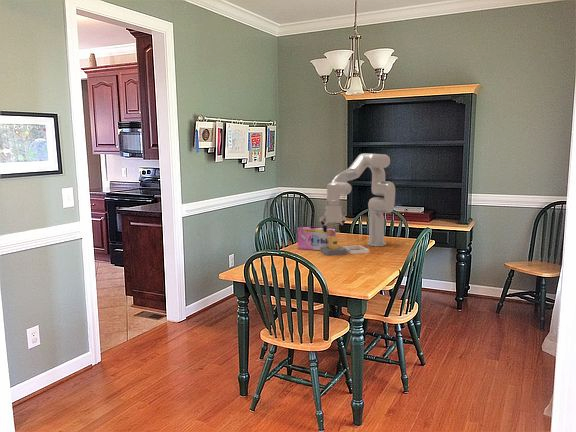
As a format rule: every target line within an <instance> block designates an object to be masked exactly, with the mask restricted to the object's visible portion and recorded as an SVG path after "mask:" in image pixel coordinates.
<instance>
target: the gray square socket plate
mask: <svg viewBox="0 0 576 432" xmlns="http://www.w3.org/2000/svg"><path fill="white" fill-rule="evenodd" d="M320 252H321V253H322V254H324V255H325V256H326V257H329V256H331V257H333V256H341V255H343V256H344V255H345V256H346V255H347V252H346V249H344V248H342V246H340V245H338V249H335V250H331V249H329V248H328V246H327V247H321V250H320Z"/></svg>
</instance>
